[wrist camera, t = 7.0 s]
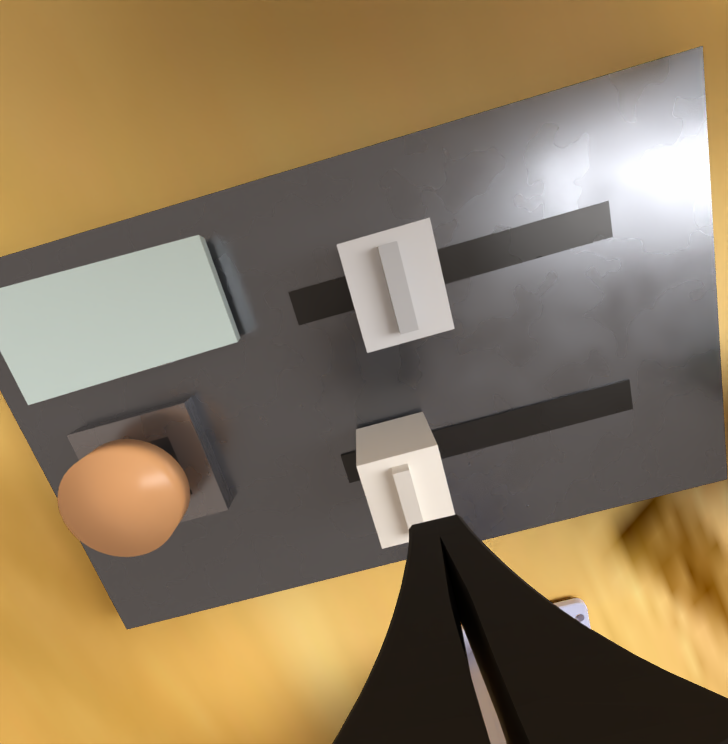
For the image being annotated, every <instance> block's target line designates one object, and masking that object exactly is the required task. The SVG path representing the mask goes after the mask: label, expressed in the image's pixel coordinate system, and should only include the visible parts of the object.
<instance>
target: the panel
mask: <svg viewBox="0 0 728 744" xmlns="http://www.w3.org/2000/svg"><path fill="white" fill-rule="evenodd" d="M426 218H430V221H431V225H432V230H433V234H434V239H435V243H436V248H437V252H438V256H439V261H440V265H441V270H442V274H443V279H444V283H445V288H446V292H447V297H448V301H449V306H450V310H451V315H452V319H453V324H454V328H455V329H452V330H449V331H445V332H442V333H438V334H434V335H431V336H427V337H423V338H420V339H416V340H413V341H409V342H405V343H402V344H398V345H395V346H391V347H387V348H384V349H380V350H376V351H373V352H369V353H367V351H366V347H365V344H364V340H363V337H362V333H361V330H360V326H359V322H358V319H357V315H356V312H355V308H354V305H353V301H352V298H351V294H350V291H349V287H348V284H347V280H346V276H345V273H344V269H343V266H342V262H341V259H340V255H339V252H338V248H337V244H340V243H344V242H347V241H350V240H354V239H357V238H361V237H364V236H368V235H371V234H375V233H378V232H381V231H385V230H388V229H392V228H395V227H399V226H402V225H406V224H409V223H412V222H416V221H419V220H423V219H426ZM196 235H200V236H202V237H204V238H205V241H206V243H207V246H208V249H209V252H210V255H211V257H212V260H213V263H214V266H215V268H216V271H217V274H218V277H219V280H220V282H221V285H222V288H223V291H224V293H225V296H226V299H227V302H228V305H229V307H230V310H231V313H232V316H233V318H234V321H235V324H236V327H237V330H238V332H239V335H240V339H239V341H238V342H236V343H233V344H229V345H226V346H223V347H219V348H216V349H213V350H209V351H206V352H203V353H200V354H196V355H193V356H190V357H186V358H183V359H180V360H176V361H173V362H170V363H166V364H163V365H160V366H157V367H153V368H150V369H147V370H143V371H140V372H137V373H133V374H130V375H127V376H123V377H120V378H117V379H114V380H110V381H107V382H104V383H100V384H97V385H94V386H90V387H87V388H84V389H80V390H77V391H74V392H71V393H67V394H64V395H61V396H57V397H54V398H51V399H47V400H44V401H41V402H37V403H34V404H31V405H28V404H27V402H26V400H25V398H24V396H23V394H22V392H21V390H20V388H19V387H18V385H17V383H16V381H15V379H14V377H13V375H12V373H11V371H10V369H9V367H8V365H7V363H6V361H5V359H4V357H3V356H2V354H1V352H0V391H1V393H2V395H3V396H4V398H5V400H6V402H7V404H8V406H9V408H10V410H11V412H12V413H13V415H14V417H15V419H16V421H17V423H18V425H19V427H20V429H21V430H22V432H23V434H24V436H25V438H26V440H27V442H28V444H29V446H30V447H31V449H32V451H33V453H34V455H35V457H36V459H37V461H38V463H39V464H40V466H41V468H42V470H43V472H44V474H45V476H46V478H47V480H48V481H49V483H50V485H51V487H52V489H53V491H54V493H55V495H56V497H57V498H58V490H59V486H60V483H61V480H62V478H63V476H64V475H65V473H66V472H67V471H68V470H69V469H70V468H71V467H72V466H73V465H74V464H75V463H77V462H78V461H79V460H81V459H82V458H83V457H85V456H86V455H87V454H89V453H90V452H92V451H93V450H94V449H96V448H97V447H99V446H101V445H102V444H104V443H107V442H110V441H114V440H119V439H135V440H141V441H145V442H149V443H151V444H154V445H156V446H158V447H160V448H161V449H163V450H165V451H166V452H167V453H169V454H170V455H171V456H172V457H173V458H174V459H175V460H176V461H177V462H178V463H179V464H180V466H181V467H182V469H183V470H184V472H185V474H186V476H187V479H188V482H189V487H190V502H189V506H188V509H187V511H186V513H185V515H184V517H183V518H182V520H181V521H180V523H179V524H178V526H177V527H176V529H175V530H174V532H173V533H172V535H171V536H170V538H169V539H168V540H167V541H166V542H165V543H164V544H163V545H162V546H160V547H159V548H157V549H156V550H154V551H152V552H150V553H147V554H144V555H140V556H134V557H118V556H112V555H108V554H104V553H101V552H98V551H96V550H94V549H92V548H90V547H88V546H87V545H85V544H84V543H82V542H81V541H80V542H81V544H82V546H83V548H84V549H85V551H86V553H87V555H88V557H89V559H90V561H91V563H92V565H93V566H94V568H95V570H96V572H97V574H98V576H99V578H100V580H101V582H102V583H103V585H104V587H105V589H106V591H107V593H108V595H109V597H110V599H111V600H112V602H113V604H114V606H115V608H116V610H117V612H118V614H119V616H120V617H121V619H122V621H123V623H124V625H125V627H126V629H131V628H135V627H139V626H143V625H147V624H151V623H155V622H159V621H163V620H167V619H171V618H175V617H179V616H183V615H187V614H191V613H195V612H199V611H203V610H207V609H211V608H215V607H219V606H223V605H227V604H231V603H235V602H239V601H243V600H247V599H250V598H254V597H258V596H262V595H266V594H270V593H274V592H278V591H282V590H286V589H290V588H294V587H298V586H302V585H306V584H310V583H314V582H318V581H322V580H326V579H330V578H334V577H338V576H342V575H346V574H350V573H354V572H358V571H362V570H366V569H370V568H374V567H378V566H382V565H386V564H390V563H394V562H398V561H402V560H406V559H407V553H408V545H409V542H407V543H403V544H399V545H395V546H391V547H387V548H383V549H382V547H381V544H380V541H379V537H378V534H377V531H376V528H375V524H374V521H373V518H372V515H371V512H370V508H369V505H368V502H367V499H366V496H365V492H364V489H363V486H362V483H361V480H360V476H359V473H358V470H357V467H356V429H359V428H363V427H367V426H371V425H374V424H378V423H382V422H386V421H389V420H393V419H397V418H400V417H404V416H408V415H412V414H415V413H419V412H423V413H424V416H425V418H426V420H427V422H428V425H429V427H430V429H431V431H432V434H433V436H434V438H435V440H436V443H437V445H438V449H439V453H440V457H441V460H442V464H443V468H444V472H445V476H446V480H447V484H448V488H449V492H450V496H451V500H452V504H453V508H454V512H455V515H456V514H457V515H459V516H461V517H462V518H463V520H464V521H465V522H466V524H467V525H468V526H469V527H470V529H471V530H472V531H473V532H474V533H475V534H476V536H477V537H478V538H479V539H480V540H481V541H482V540H486V539H490V538H494V537H498V536H502V535H506V534H510V533H514V532H518V531H522V530H526V529H530V528H534V527H538V526H542V525H546V524H550V523H554V522H558V521H562V520H566V519H570V518H574V517H578V516H582V515H586V514H590V513H594V512H598V511H602V510H606V509H610V508H614V507H618V506H622V505H626V504H630V503H634V502H638V501H642V500H646V499H650V498H654V497H658V496H662V495H666V494H670V493H674V492H678V491H682V490H686V489H690V488H694V487H698V486H702V485H706V484H710V483H714V482H718V481H722V480H726V479H727V463H726V445H725V428H724V410H723V393H722V376H721V358H720V341H719V323H718V306H717V288H716V271H715V253H714V236H713V218H712V201H711V183H710V166H709V148H708V131H707V113H706V96H705V78H704V61H703V46H700V47H697V48H694V49H690V50H687V51H684V52H680V53H677V54H674V55H671V56H667V57H664V58H661V59H657V60H654V61H651V62H647V63H644V64H641V65H637V66H634V67H631V68H627V69H624V70H621V71H617V72H614V73H611V74H607V75H604V76H601V77H597V78H594V79H591V80H587V81H584V82H581V83H578V84H574V85H571V86H568V87H564V88H561V89H558V90H554V91H551V92H548V93H544V94H541V95H538V96H534V97H531V98H528V99H524V100H521V101H518V102H514V103H511V104H508V105H504V106H501V107H498V108H494V109H491V110H488V111H485V112H481V113H478V114H475V115H471V116H468V117H465V118H461V119H458V120H455V121H451V122H448V123H445V124H441V125H438V126H435V127H431V128H428V129H425V130H421V131H418V132H415V133H411V134H408V135H405V136H401V137H398V138H395V139H392V140H388V141H385V142H382V143H378V144H375V145H372V146H368V147H365V148H362V149H358V150H355V151H352V152H348V153H345V154H342V155H338V156H335V157H332V158H328V159H325V160H322V161H318V162H315V163H312V164H308V165H305V166H302V167H299V168H295V169H292V170H289V171H285V172H282V173H279V174H275V175H272V176H269V177H265V178H262V179H259V180H255V181H252V182H249V183H245V184H242V185H239V186H235V187H232V188H229V189H225V190H222V191H219V192H215V193H212V194H209V195H206V196H202V197H199V198H196V199H192V200H189V201H186V202H182V203H179V204H176V205H172V206H169V207H166V208H162V209H159V210H156V211H152V212H149V213H146V214H142V215H139V216H136V217H132V218H129V219H126V220H122V221H119V222H116V223H112V224H109V225H106V226H103V227H99V228H96V229H93V230H89V231H86V232H83V233H79V234H76V235H73V236H69V237H66V238H63V239H59V240H56V241H53V242H49V243H46V244H43V245H39V246H36V247H33V248H29V249H26V250H23V251H19V252H16V253H13V254H10V255H6V256H3V257H0V288H2V287H6V286H10V285H13V284H17V283H21V282H25V281H28V280H32V279H36V278H39V277H43V276H47V275H51V274H54V273H58V272H62V271H66V270H69V269H73V268H77V267H80V266H84V265H88V264H92V263H95V262H99V261H103V260H107V259H110V258H114V257H118V256H121V255H125V254H129V253H133V252H136V251H140V250H144V249H147V248H151V247H155V246H159V245H162V244H166V243H170V242H174V241H177V240H181V239H185V238H188V237H192V236H196Z"/></svg>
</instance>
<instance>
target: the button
mask: <svg viewBox="0 0 728 744" xmlns="http://www.w3.org/2000/svg"><path fill="white" fill-rule="evenodd" d="M189 502H190V487H189V482H188V479H187V476H186V474H185V472H184V470H183V469H182V467H181V466H180V464H179V463H178V462H177V461H176V460H175V459H174V458H173V457H172V456H171V455H170V454H169V453H167V452H166V451H165V450H163V449H161V448H160V447H158V446H156V445H154V444H151V443H149V442H145V441H141V440H135V439H119V440H114V441H110V442H107V443H104V444H102V445H101V446H99V447H97V448H96V449H94V450H93V451H92V452H90V453H89V454H87V455H86V456H85V457H83V458H82V459H81V460H79V461H78V462H77V463H75V464H74V465H73V466H72V467H71V468H70V469H69V470H68V471H67V472H66V473H65V475H64V476H63V478H62V480H61V483H60V486H59V490H58V506H59V511H60V514H61V516H62V519H63V521H64V523H65V524H66V526H67V527H68V529H69V530H70V531H71V532H72V534H73V535H74V536H75V537H76V538H77V539H79V540H80V541H81V542H82V543H84V544H85V545H87V546H88V547H90V548H92V549H94V550H96V551H98V552H101V553H104V554H108V555H112V556H118V557H134V556H140V555H144V554H147V553H150V552H152V551H154V550H156V549H157V548H159V547H160V546H162V545H163V544H164V543H165V542H166V541H167V540H168V539H169V538H170V536H171V535H172V533H173V532H174V530H175V529H176V527H177V526H178V524H179V523H180V521H181V520H182V518H183V517H184V515H185V513H186V511H187V509H188V506H189Z"/></svg>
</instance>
